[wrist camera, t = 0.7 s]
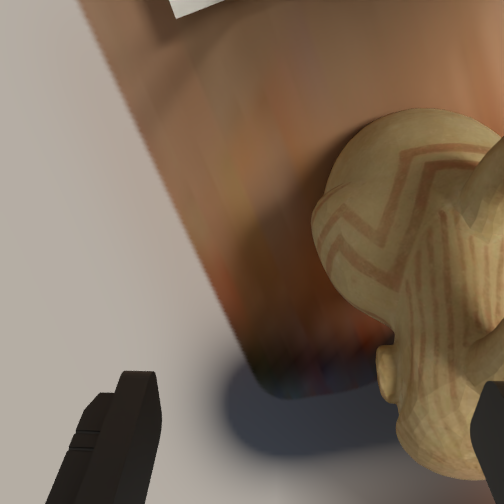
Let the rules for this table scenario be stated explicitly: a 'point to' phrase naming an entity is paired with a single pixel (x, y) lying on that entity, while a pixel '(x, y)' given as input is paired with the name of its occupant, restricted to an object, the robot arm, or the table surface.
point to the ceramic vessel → (423, 269)
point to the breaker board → (190, 6)
